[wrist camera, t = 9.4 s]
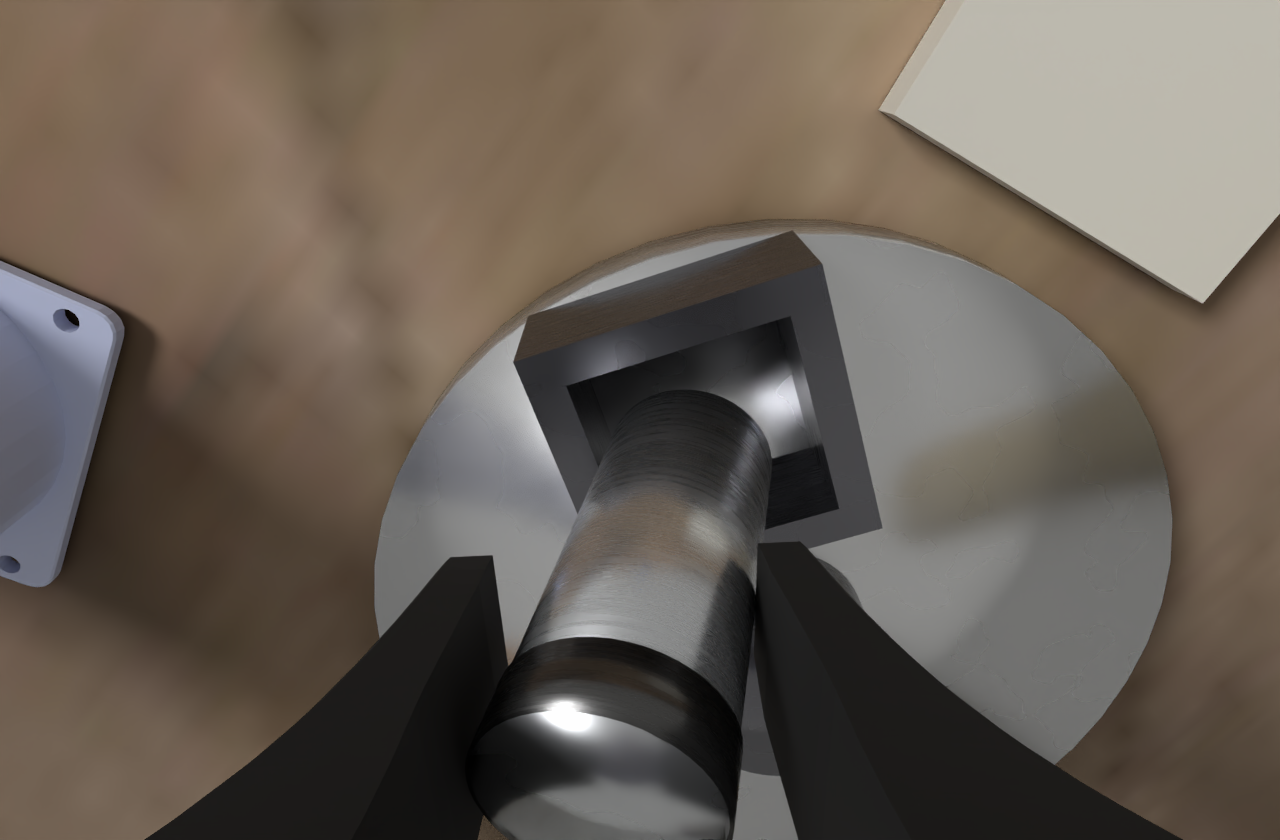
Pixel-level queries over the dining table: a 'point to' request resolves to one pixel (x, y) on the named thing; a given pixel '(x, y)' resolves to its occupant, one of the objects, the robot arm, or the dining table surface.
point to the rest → (1114, 119)
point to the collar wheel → (828, 459)
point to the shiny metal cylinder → (638, 642)
